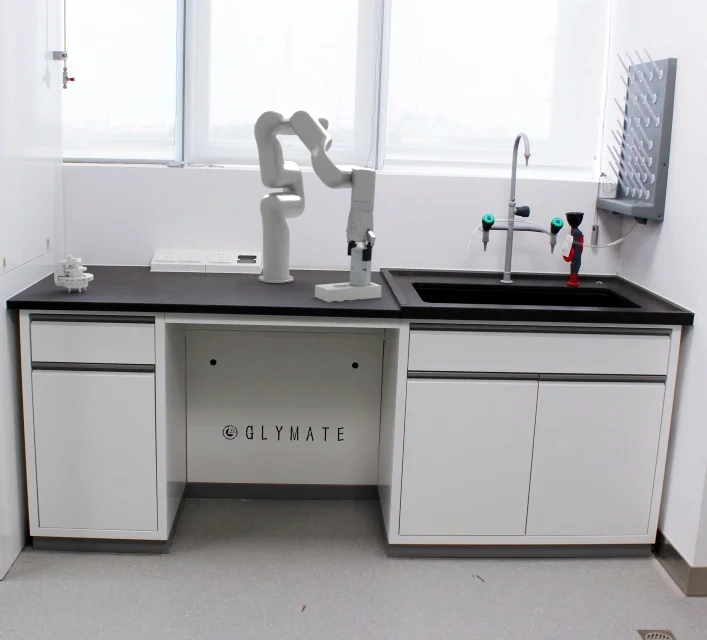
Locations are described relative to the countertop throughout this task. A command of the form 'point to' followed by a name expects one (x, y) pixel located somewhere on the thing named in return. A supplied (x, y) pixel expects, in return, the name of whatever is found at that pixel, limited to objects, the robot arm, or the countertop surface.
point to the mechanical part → (71, 274)
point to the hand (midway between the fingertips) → (359, 258)
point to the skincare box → (359, 268)
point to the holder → (347, 291)
